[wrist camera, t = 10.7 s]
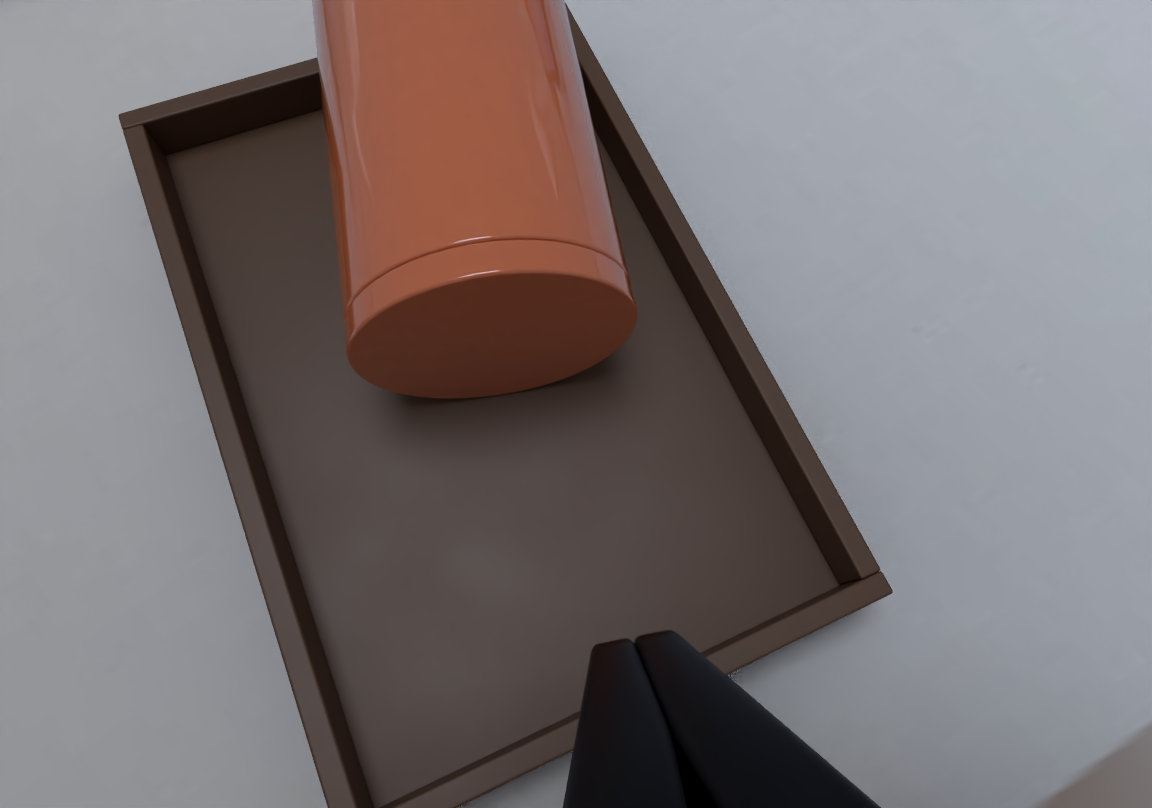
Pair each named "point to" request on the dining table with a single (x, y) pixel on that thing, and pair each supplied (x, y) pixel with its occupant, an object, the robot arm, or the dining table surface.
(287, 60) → the dining table surface
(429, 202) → the orange canister
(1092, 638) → the dining table surface
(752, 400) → the walnut tray
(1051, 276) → the dining table surface
